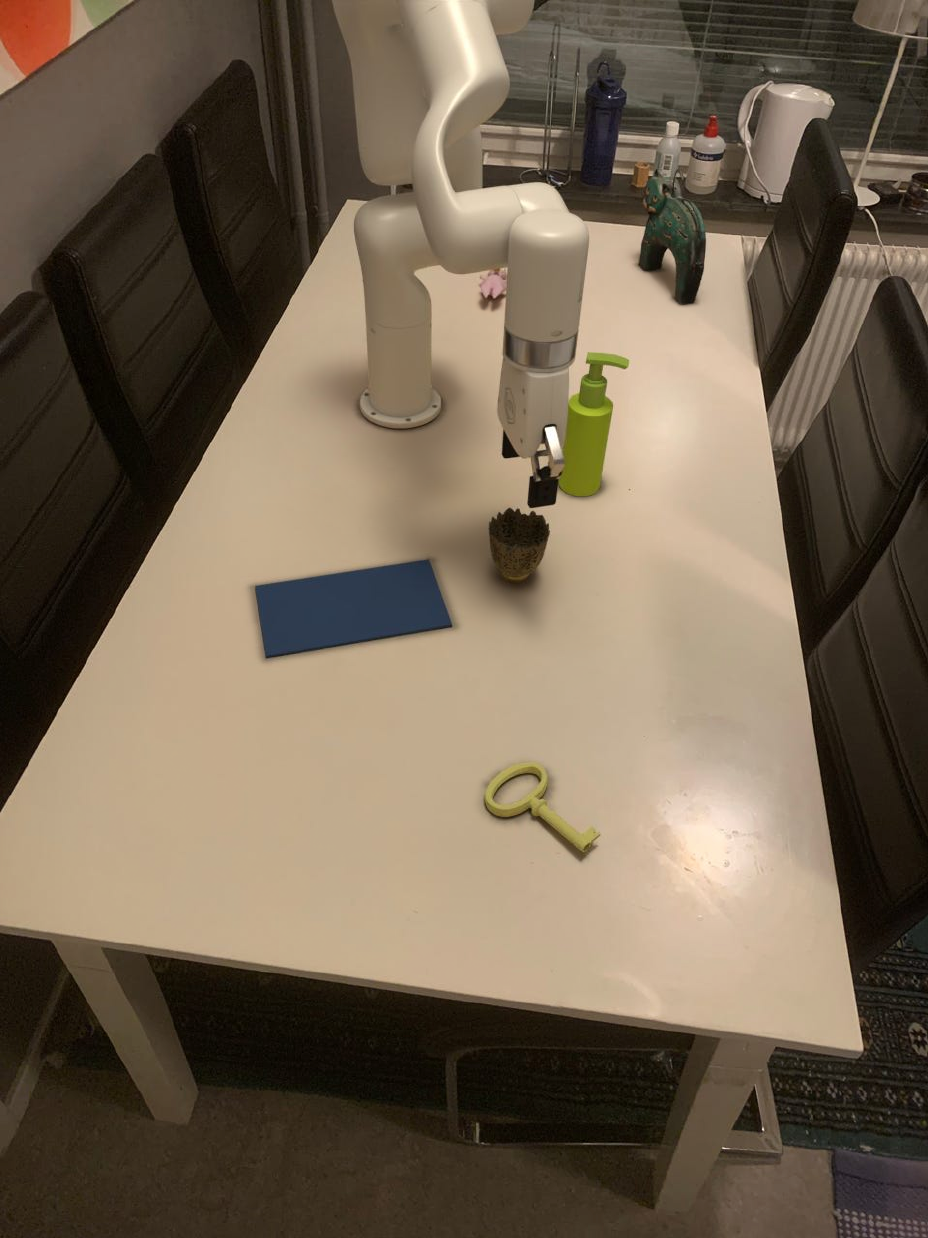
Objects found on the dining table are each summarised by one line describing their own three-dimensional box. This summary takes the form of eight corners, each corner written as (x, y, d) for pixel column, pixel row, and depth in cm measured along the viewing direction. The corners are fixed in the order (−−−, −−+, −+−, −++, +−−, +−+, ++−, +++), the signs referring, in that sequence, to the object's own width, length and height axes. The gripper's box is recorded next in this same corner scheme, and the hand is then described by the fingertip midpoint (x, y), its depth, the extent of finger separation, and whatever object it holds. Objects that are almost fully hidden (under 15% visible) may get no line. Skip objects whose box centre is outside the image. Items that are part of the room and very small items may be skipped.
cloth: (255, 588, 113) (254, 585, 112) (429, 561, 117) (429, 559, 117) (266, 658, 104) (265, 655, 104) (452, 626, 109) (452, 624, 109)
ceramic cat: (629, 261, 181) (646, 154, 167) (658, 258, 183) (678, 152, 169) (674, 307, 168) (697, 195, 154) (706, 303, 170) (731, 192, 155)
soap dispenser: (605, 500, 127) (627, 371, 113) (555, 493, 128) (572, 364, 114) (608, 475, 131) (631, 348, 117) (561, 468, 132) (577, 341, 118)
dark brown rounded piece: (551, 563, 117) (557, 515, 112) (535, 601, 112) (541, 552, 107) (495, 550, 119) (499, 501, 113) (477, 586, 114) (480, 537, 108)
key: (587, 863, 87) (590, 851, 86) (475, 806, 91) (476, 794, 90) (617, 808, 92) (620, 796, 90) (509, 756, 96) (510, 744, 94)
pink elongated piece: (481, 282, 176) (472, 305, 164) (483, 249, 173) (473, 271, 160) (513, 285, 176) (506, 308, 163) (516, 252, 172) (509, 274, 160)
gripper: (481, 307, 98) (476, 442, 110) (531, 389, 86) (519, 531, 98) (547, 300, 99) (535, 434, 111) (605, 380, 88) (584, 520, 100)
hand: (527, 479), depth 105 cm, fingers open, 9 cm apart
